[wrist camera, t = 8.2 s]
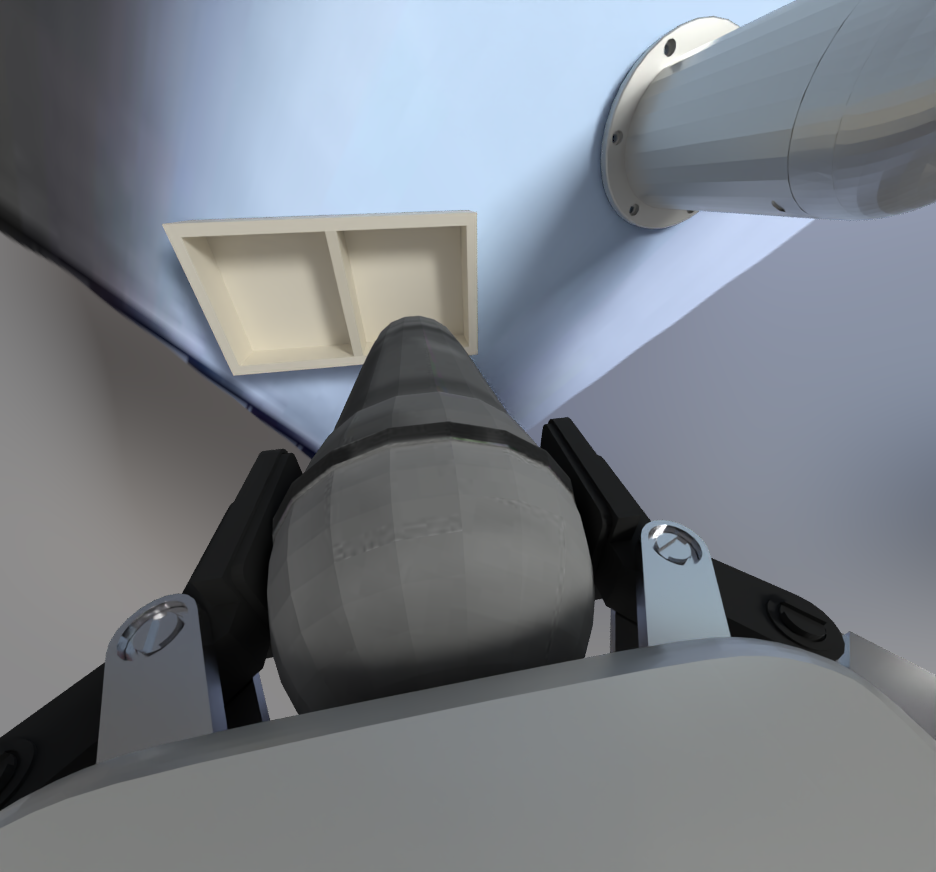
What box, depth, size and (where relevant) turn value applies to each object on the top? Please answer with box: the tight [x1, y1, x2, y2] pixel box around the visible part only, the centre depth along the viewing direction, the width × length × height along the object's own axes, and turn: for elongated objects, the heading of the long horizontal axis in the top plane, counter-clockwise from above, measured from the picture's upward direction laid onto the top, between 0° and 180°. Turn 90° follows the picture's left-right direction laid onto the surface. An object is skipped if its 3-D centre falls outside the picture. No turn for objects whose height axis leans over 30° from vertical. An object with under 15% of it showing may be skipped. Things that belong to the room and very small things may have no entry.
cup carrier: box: [162, 210, 478, 376], centre depth 29 cm, size 22×11×4 cm, turn 91°
